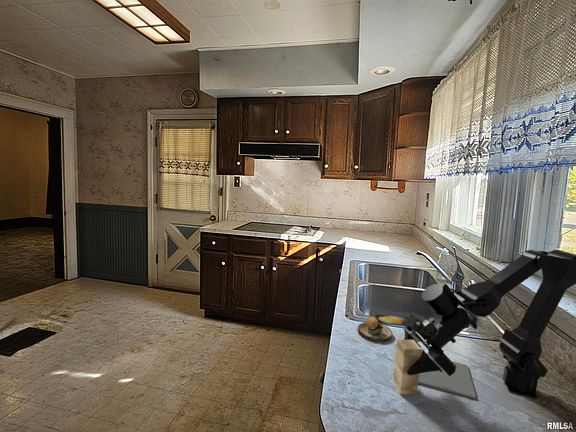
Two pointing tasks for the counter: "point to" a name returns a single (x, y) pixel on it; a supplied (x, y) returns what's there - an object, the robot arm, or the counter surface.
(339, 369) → the counter surface
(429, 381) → the mat
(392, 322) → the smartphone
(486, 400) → the counter surface
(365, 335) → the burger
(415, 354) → the block
